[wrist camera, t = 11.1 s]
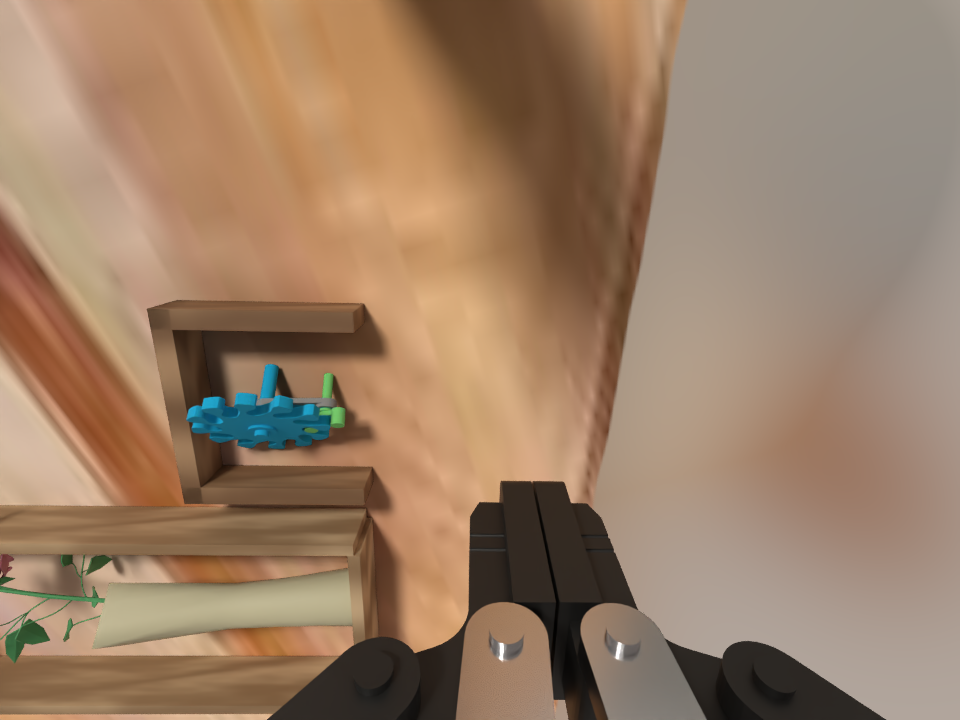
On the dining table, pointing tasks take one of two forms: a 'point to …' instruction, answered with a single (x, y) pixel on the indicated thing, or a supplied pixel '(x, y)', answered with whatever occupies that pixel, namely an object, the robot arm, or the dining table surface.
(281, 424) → the gear
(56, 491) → the dining table surface
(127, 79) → the dining table surface
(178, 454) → the cradle
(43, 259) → the dining table surface
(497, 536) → the robot arm
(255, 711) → the wooden tray
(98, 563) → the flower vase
